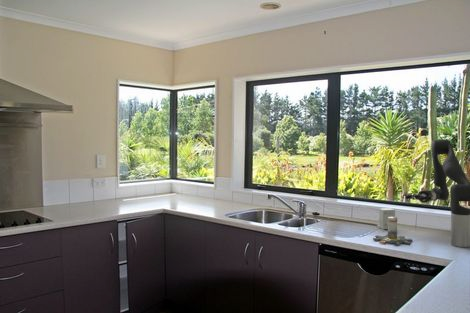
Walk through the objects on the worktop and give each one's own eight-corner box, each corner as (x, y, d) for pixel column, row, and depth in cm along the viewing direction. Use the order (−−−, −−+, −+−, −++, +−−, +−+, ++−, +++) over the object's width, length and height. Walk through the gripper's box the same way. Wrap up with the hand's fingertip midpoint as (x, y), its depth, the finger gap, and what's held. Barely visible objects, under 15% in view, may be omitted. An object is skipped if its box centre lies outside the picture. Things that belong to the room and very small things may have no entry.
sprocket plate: (420, 241, 218) (420, 239, 218) (399, 247, 206) (399, 245, 206) (386, 234, 235) (386, 232, 235) (365, 240, 223) (365, 237, 223)
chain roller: (399, 238, 220) (399, 217, 220) (394, 239, 217) (394, 218, 217) (390, 236, 224) (391, 216, 224) (385, 238, 221) (385, 217, 221)
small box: (390, 227, 256) (390, 207, 255) (395, 229, 249) (395, 209, 249) (378, 227, 255) (378, 208, 255) (383, 230, 249) (383, 209, 248)
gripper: (415, 189, 245) (401, 190, 236) (438, 190, 234) (424, 192, 224) (415, 200, 245) (401, 203, 236) (438, 203, 234) (425, 205, 224)
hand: (413, 198), depth 230 cm, fingers open, 8 cm apart
